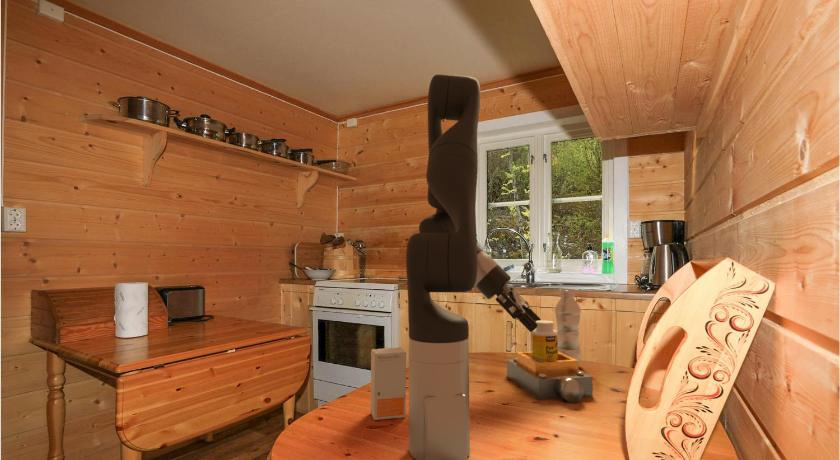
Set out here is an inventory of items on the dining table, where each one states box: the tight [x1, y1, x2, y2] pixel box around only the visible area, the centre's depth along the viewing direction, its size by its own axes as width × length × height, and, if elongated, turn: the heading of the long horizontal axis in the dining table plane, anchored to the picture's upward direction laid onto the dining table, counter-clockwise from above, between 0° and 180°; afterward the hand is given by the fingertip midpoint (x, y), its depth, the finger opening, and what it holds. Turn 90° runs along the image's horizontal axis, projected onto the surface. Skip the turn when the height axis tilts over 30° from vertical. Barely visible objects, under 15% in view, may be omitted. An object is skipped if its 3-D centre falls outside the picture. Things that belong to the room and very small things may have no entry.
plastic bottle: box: [554, 288, 583, 366], centre depth 114 cm, size 6×7×20 cm
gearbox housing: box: [506, 350, 594, 404], centre depth 96 cm, size 20×12×6 cm, turn 11°
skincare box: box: [370, 347, 407, 421], centre depth 81 cm, size 6×4×12 cm
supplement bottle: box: [531, 319, 558, 362], centre depth 98 cm, size 6×6×10 cm
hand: (536, 326), depth 99 cm, fingers open, 8 cm apart
